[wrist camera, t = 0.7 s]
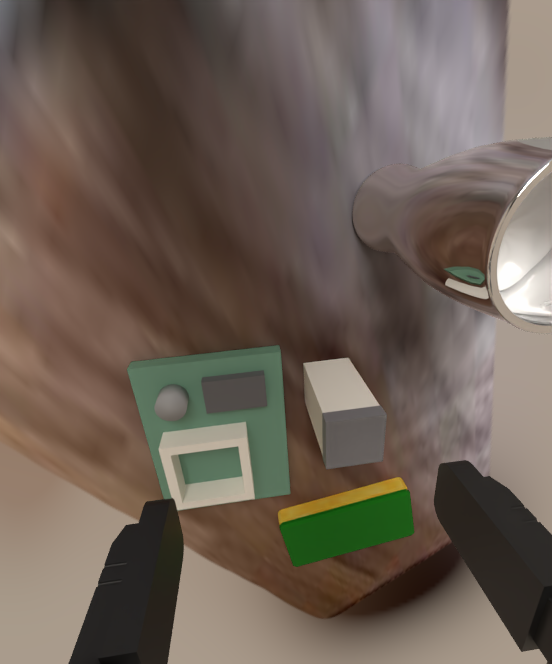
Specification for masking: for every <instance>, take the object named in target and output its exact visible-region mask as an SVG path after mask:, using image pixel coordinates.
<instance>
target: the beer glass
mask: <svg viewBox="0 0 552 664" xmlns="http://www.w3.org/2000/svg"><path fill="white" fill-rule="evenodd" d="M352 218H353V224H354V228H355V231H356V233H357V235H358V236H359V238H360V239H361V241H362V242H363V243H364V244H366V245H367V246H368V247H370V248H372V249H374V250H377V251H381V252H387V253H395V254H396V255H397V256H398V257H399V258H400V259H401V260H402V261H403V262H404V263H405V264H406V265H407V266H408V267H409V268H410V269H411V270H412V271H413V272H414V273H415V274H416V275H417V276H418V277H419V278H421V279H422V280H423V281H424V282H425V283H427V284H428V285H429V286H431V287H432V288H434V289H435V290H437V291H439V292H440V293H442V294H444V295H445V296H447V297H449V298H451V299H453V300H455V301H457V302H459V303H461V304H463V305H465V306H467V307H470V308H472V309H474V310H477V311H479V312H482V313H484V314H487V315H489V316H492V317H494V318H497V319H500V320H502V321H505V322H507V323H510V324H512V325H513V326H515V327H517V328H519V329H522V330H524V331H528V332H532V333H541V334H550V333H552V137H549V138H532V139H521V140H510V141H504V142H498V143H493V144H488V145H483V146H478V147H475V148H472V149H469V150H466V151H463V152H460V153H457V154H454V155H451V156H449V157H446V158H444V159H442V160H439V161H437V162H435V163H432V164H430V165H428V166H426V167H424V168H421V169H419V168H417V167H415V166H412V165H408V164H401V163H398V164H391V165H387V166H385V167H382V168H380V169H378V170H377V171H375V172H374V173H372V174H371V175H370V176H369V177H368V178H367V179H366V180H365V181H364V183H363V184H362V185H361V187H360V189H359V190H358V192H357V195H356V197H355V200H354V204H353V211H352Z"/></svg>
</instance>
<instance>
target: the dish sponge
mask: <svg viewBox="0 0 552 664" xmlns="http://www.w3.org/2000/svg"><path fill="white" fill-rule="evenodd" d="M278 518H279V524H280V530H281V533H282V536H283V539H284V541H285V544H286V547H287V550H288V552H289V555H290V558H291V561H292V563H293V566H296V567H298V566H302V565H305V564H309V563H313V562H316V561H320V560H324V559H327V558H331V557H334V556H338V555H342V554H345V553H349V552H353V551H356V550H360V549H363V548H367V547H371V546H374V545H378V544H382V543H385V542H389V541H392V540H396V539H400V538H403V537H407V536H411V535H412V534H413V533H414V526H413V517H412V507H411V498H410V492H409V490H407V487H406V485H405V483H404V482H403V480H402V478H399V477H397V478H393V479H390V480H386V481H382V482H379V483H375V484H372V485H368V486H364V487H361V488H357V489H354V490H350V491H347V492H343V493H339V494H336V495H332V496H329V497H325V498H321V499H318V500H314V501H311V502H307V503H303V504H300V505H296V506H293V507H289V508H285V509H282V510H280V511H279V512H278Z"/></svg>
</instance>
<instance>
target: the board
mask: <svg viewBox="0 0 552 664" xmlns="http://www.w3.org/2000/svg"><path fill="white" fill-rule="evenodd" d="M127 371H128V375H129V378H130V382H131V385H132V389H133V392H134V396H135V399H136V403H137V406H138V410H139V413H140V417H141V420H142V424H143V427H144V431H145V434H146V438H147V441H148V445H149V448H150V452H151V455H152V459H153V462H154V466H155V469H156V473H157V476H158V480H159V483H160V487H161V490H162V494H163V497H164V499H170V498H173V499H174V500H175V503H176V508H177V511H179V510H186V509H193V508H200V507H206V506H213V505H220V504H226V503H233V502H240V501H247V500H253V499H260V498H267V497H274V496H280V495H287V494H290V481H289V466H288V451H287V436H286V422H285V407H284V392H283V377H282V362H281V351H280V347H279V345H276V346H267V347H258V348H250V349H241V350H232V351H223V352H214V353H205V354H196V355H187V356H179V357H170V358H161V359H152V360H143V361H134V362H131V363H130V365H129V367H128V368H127Z"/></svg>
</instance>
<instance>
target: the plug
mask: <svg viewBox="0 0 552 664" xmlns="http://www.w3.org/2000/svg"><path fill="white" fill-rule="evenodd" d="M303 370H304V397H305V404H306V407H307V410H308V413H309V416H310V419H311V422H312V425H313V428H314V431H315V434H316V437H317V440H318V443H319V446H320V449H321V452H322V455H323V461H324V464H325V467H326V469H332V468H339V467H346V466H353V465H360V464H367V463H374V462H381V461H383V453H384V441H385V430H386V418H387V414H386V412H385V411H384V409H383V408H382V406H381V405H379V404H378V402H377V401H376V399H375V398H374V396H373V395H372V393H371V391H370V390H369V388H368V387H367V385H366V384H365V382H364V381H363V379H362V378H361V376H360V375H359V373H358V372H357V370H356V369H355V367H354V366H353V364H352V363H351V361H350V359H349V358H342V359H334V360H325V361H317V362H308V363H303Z"/></svg>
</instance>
